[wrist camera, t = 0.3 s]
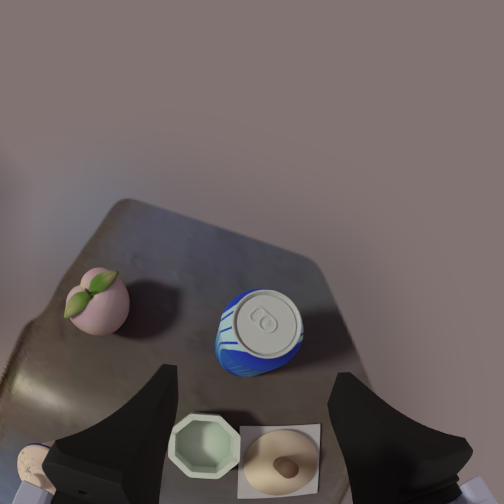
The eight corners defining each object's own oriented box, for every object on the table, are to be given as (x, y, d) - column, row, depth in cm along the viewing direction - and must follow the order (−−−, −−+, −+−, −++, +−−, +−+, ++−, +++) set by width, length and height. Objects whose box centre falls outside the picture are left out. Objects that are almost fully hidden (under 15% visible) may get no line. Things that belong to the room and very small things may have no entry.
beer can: (268, 317, 44) (302, 277, 30) (277, 373, 40) (318, 360, 26) (211, 322, 42) (217, 283, 28) (218, 380, 38) (227, 373, 24)
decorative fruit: (111, 355, 37) (86, 343, 28) (73, 319, 38) (44, 298, 29) (149, 306, 41) (136, 281, 33) (111, 274, 42) (91, 243, 34)
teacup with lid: (62, 495, 25) (27, 516, 15) (37, 442, 28) (-5, 449, 18) (127, 483, 29) (104, 510, 19) (100, 428, 32) (66, 437, 22)
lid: (313, 490, 32) (326, 499, 28) (241, 495, 31) (246, 506, 26) (316, 427, 37) (329, 430, 32) (243, 429, 35) (249, 434, 31)
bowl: (235, 471, 32) (239, 479, 29) (171, 467, 31) (168, 474, 28) (237, 414, 36) (241, 416, 33) (172, 409, 35) (169, 411, 32)
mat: (316, 492, 32) (317, 492, 32) (237, 497, 31) (237, 498, 30) (319, 423, 37) (320, 423, 37) (239, 425, 36) (240, 426, 35)
